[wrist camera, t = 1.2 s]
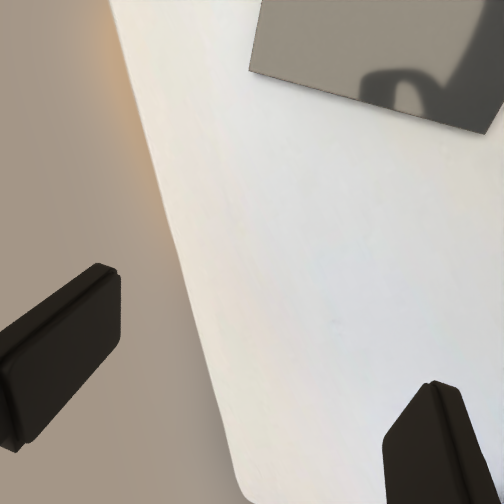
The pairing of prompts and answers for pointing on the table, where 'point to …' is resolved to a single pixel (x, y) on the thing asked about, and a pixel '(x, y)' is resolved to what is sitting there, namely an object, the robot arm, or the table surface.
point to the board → (391, 54)
